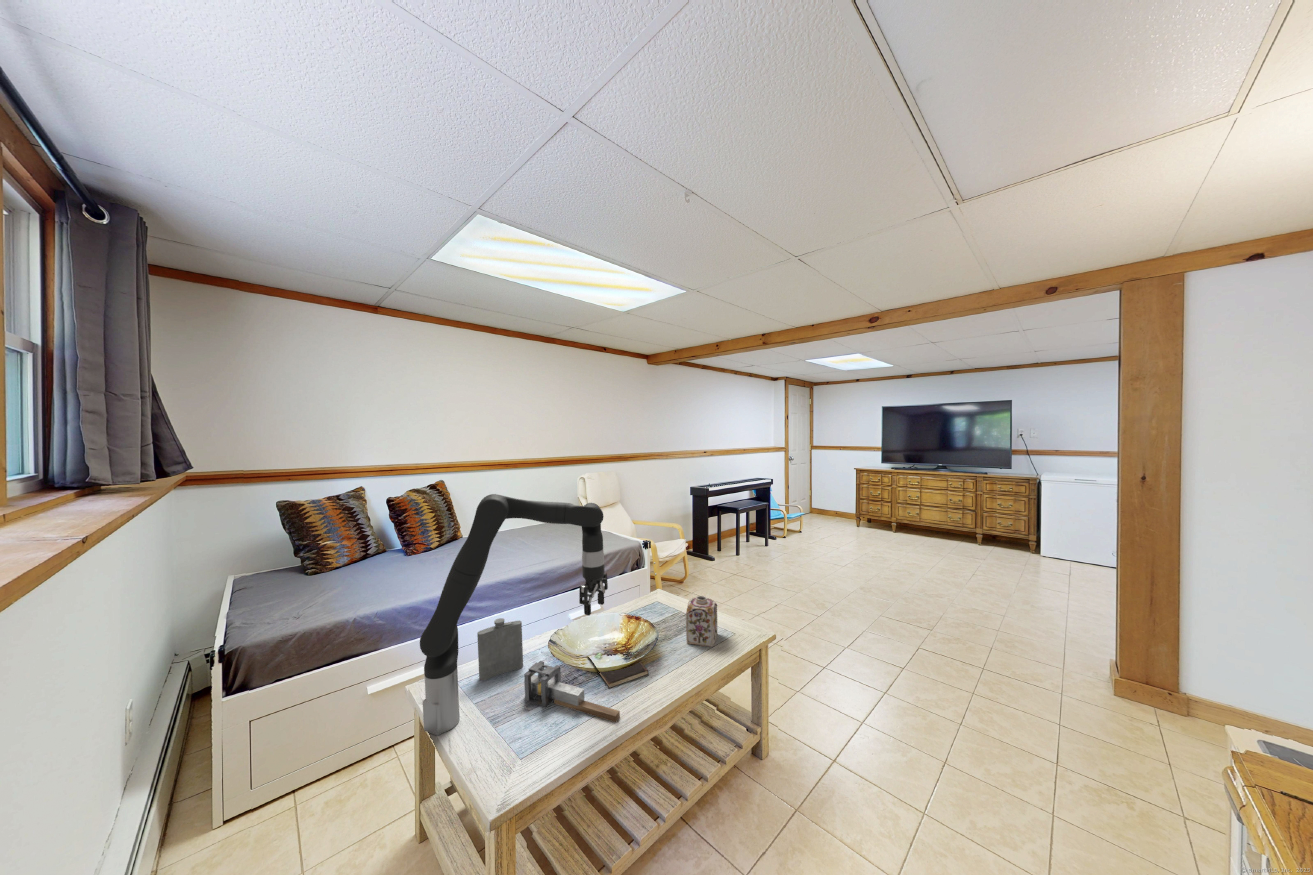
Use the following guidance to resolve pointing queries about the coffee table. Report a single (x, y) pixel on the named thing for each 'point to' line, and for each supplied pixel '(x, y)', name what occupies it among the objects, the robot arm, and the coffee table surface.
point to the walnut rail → (593, 710)
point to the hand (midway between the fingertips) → (594, 609)
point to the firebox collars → (546, 675)
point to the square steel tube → (558, 691)
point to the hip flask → (500, 649)
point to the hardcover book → (624, 674)
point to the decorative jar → (701, 621)
